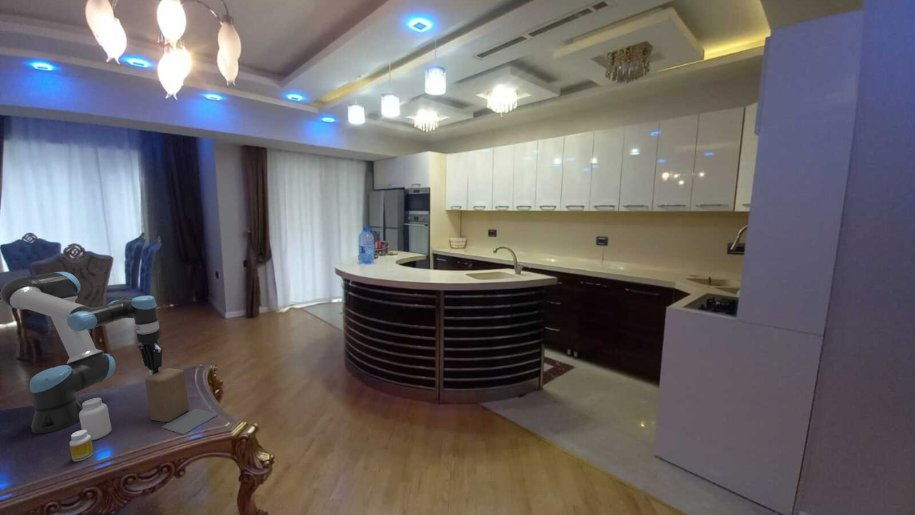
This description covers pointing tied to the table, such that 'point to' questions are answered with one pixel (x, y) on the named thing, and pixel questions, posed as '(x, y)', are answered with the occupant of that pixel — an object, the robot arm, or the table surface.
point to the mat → (189, 421)
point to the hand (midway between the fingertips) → (155, 381)
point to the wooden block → (167, 394)
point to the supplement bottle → (81, 445)
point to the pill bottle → (95, 418)
